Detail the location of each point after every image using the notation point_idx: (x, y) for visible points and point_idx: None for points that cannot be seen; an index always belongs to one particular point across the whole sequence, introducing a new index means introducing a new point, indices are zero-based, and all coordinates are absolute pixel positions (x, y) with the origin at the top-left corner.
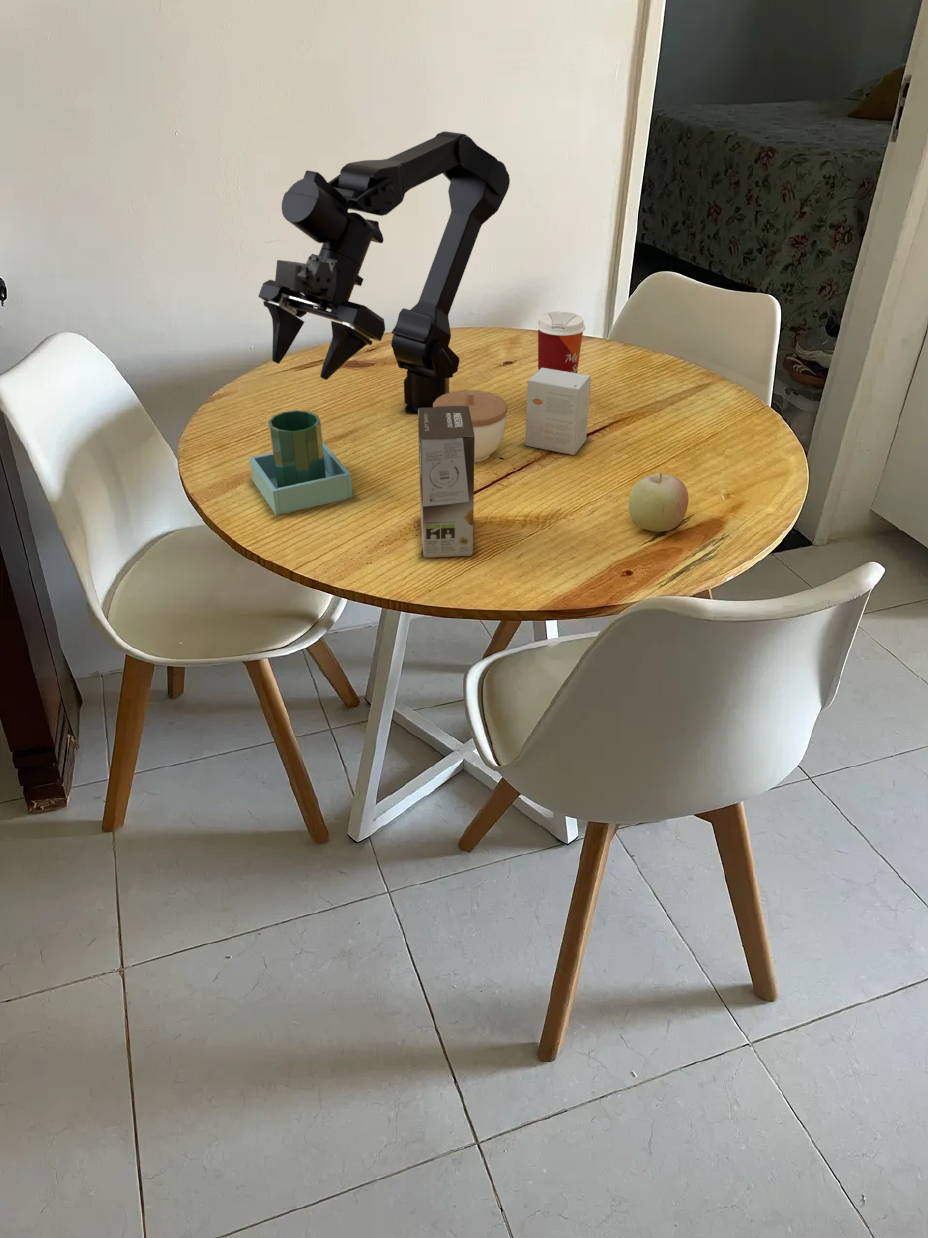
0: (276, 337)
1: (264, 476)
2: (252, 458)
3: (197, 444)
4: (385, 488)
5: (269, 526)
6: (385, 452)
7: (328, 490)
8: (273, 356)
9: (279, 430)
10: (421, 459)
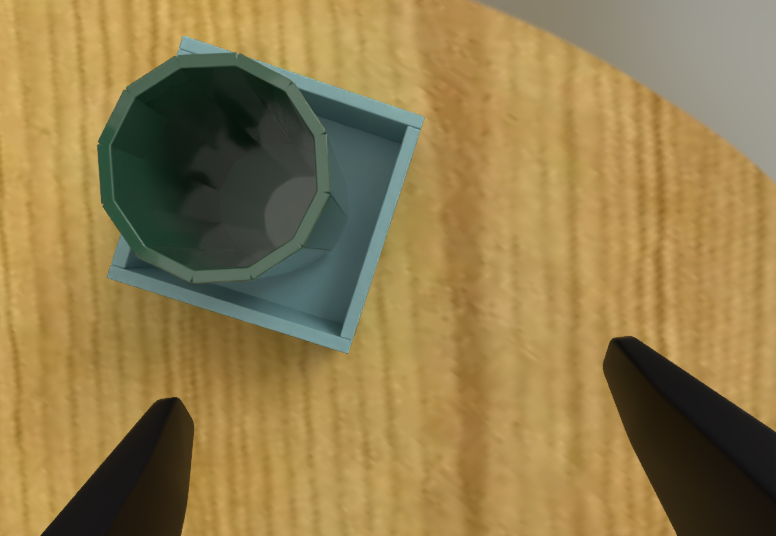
0: (753, 456)
1: (282, 74)
2: (409, 118)
3: (720, 161)
4: (143, 378)
5: (194, 35)
6: (306, 514)
7: None
8: (639, 349)
9: (176, 59)
10: None
